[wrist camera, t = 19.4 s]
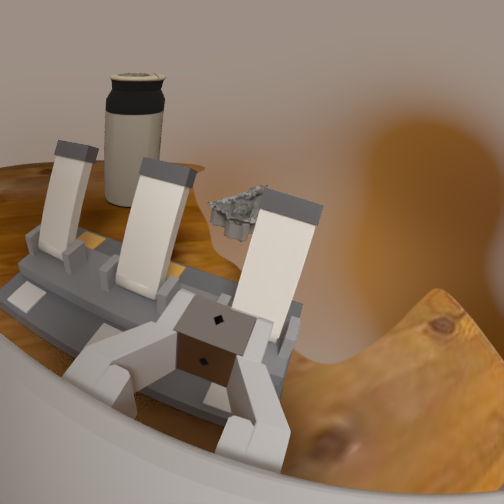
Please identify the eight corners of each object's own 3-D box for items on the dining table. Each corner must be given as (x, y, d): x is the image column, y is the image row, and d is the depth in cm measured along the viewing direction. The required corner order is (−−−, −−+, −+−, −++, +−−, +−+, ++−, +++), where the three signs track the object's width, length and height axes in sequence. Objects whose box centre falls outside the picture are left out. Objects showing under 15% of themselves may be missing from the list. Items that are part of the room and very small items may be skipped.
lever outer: (276, 347, 23) (323, 205, 21) (223, 329, 24) (264, 187, 22) (278, 339, 25) (322, 206, 23) (228, 322, 25) (267, 189, 23)
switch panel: (265, 439, 20) (283, 411, 17) (-2, 306, 23) (-18, 266, 20) (298, 314, 31) (313, 276, 29) (78, 236, 35) (74, 199, 32)
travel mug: (101, 209, 40) (103, 77, 30) (108, 184, 47) (113, 72, 36) (157, 209, 43) (168, 78, 33) (156, 185, 49) (167, 73, 39)
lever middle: (154, 303, 24) (190, 167, 23) (111, 285, 25) (143, 156, 23) (162, 299, 26) (197, 171, 25) (121, 282, 26) (152, 160, 25)
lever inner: (63, 264, 25) (88, 145, 24) (35, 250, 26) (58, 140, 24) (73, 261, 27) (98, 148, 25) (45, 248, 27) (68, 142, 26)
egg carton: (263, 207, 50) (268, 183, 48) (294, 231, 45) (301, 206, 43) (202, 216, 44) (205, 190, 42) (230, 246, 39) (235, 217, 37)
